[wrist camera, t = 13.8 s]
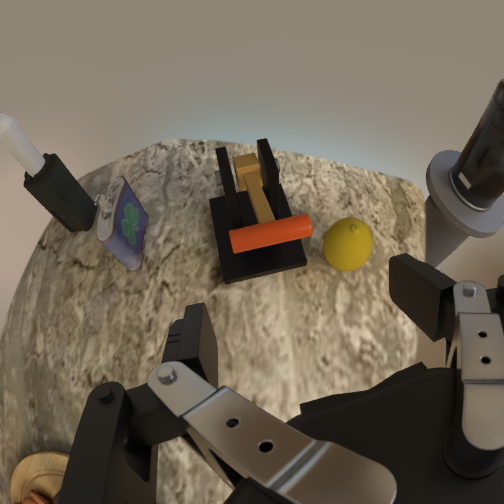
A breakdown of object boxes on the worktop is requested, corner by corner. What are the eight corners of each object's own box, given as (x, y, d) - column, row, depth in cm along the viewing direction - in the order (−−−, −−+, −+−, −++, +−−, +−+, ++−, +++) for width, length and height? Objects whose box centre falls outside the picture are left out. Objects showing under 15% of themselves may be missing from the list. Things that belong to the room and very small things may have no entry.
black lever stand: (306, 265, 36) (321, 199, 24) (225, 284, 36) (199, 226, 23) (280, 188, 41) (280, 110, 29) (210, 203, 41) (186, 130, 28)
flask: (142, 271, 37) (102, 232, 28) (123, 272, 37) (81, 234, 28) (151, 212, 41) (121, 163, 32) (133, 213, 41) (101, 167, 32)
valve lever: (313, 245, 20) (312, 216, 19) (236, 263, 20) (228, 235, 19) (273, 170, 30) (270, 149, 28) (220, 182, 29) (215, 160, 28)
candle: (98, 203, 43) (14, 85, 20) (91, 230, 41) (-9, 114, 18) (75, 206, 43) (-10, 100, 21) (67, 233, 41) (-31, 129, 18)
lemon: (312, 248, 37) (320, 214, 30) (350, 234, 37) (364, 198, 30) (330, 287, 35) (345, 260, 27) (369, 270, 35) (390, 241, 28)
